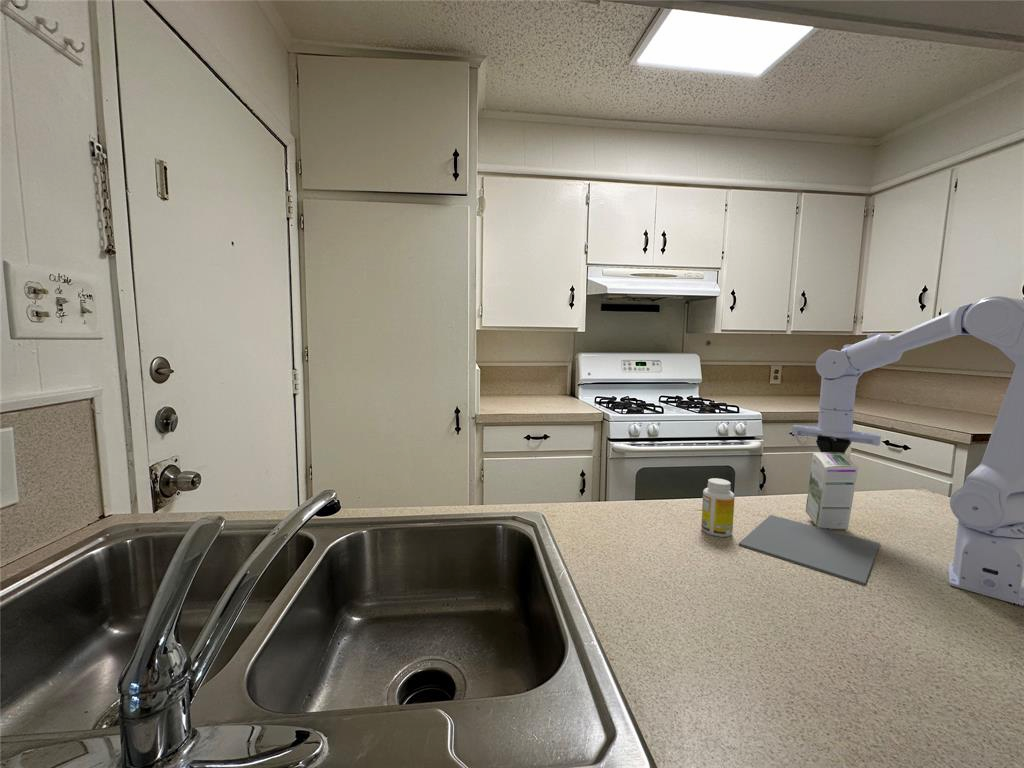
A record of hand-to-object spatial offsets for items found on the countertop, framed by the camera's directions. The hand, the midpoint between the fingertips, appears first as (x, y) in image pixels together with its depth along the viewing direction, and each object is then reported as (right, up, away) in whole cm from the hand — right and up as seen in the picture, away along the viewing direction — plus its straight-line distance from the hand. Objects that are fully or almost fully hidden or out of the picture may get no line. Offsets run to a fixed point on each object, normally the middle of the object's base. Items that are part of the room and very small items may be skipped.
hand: (831, 473), depth 89 cm
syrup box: (-2, -10, -1) cm, 10 cm away
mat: (-12, -11, -10) cm, 19 cm away
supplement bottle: (-26, -11, -5) cm, 29 cm away
